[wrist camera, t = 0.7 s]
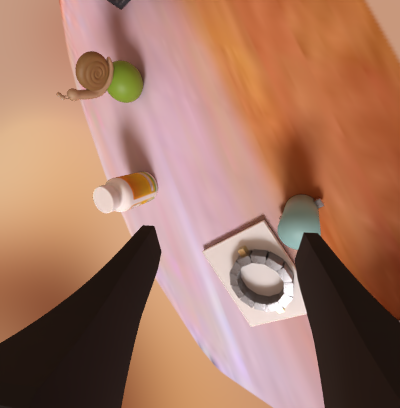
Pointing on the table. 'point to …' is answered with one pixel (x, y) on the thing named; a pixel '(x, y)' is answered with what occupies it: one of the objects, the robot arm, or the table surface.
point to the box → (119, 3)
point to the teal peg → (299, 219)
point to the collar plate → (258, 275)
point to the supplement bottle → (125, 192)
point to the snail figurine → (105, 79)
